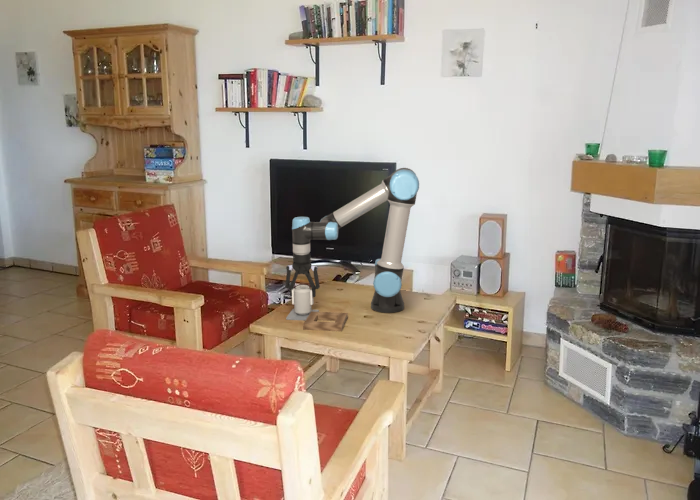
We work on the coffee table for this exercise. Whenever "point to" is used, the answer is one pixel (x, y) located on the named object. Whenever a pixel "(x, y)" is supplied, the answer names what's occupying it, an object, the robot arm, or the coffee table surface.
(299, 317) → the plate
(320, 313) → the pocket block
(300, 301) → the can
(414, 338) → the coffee table surface
